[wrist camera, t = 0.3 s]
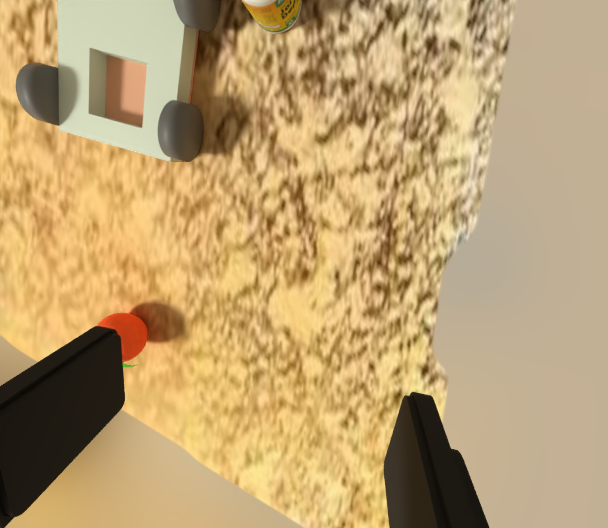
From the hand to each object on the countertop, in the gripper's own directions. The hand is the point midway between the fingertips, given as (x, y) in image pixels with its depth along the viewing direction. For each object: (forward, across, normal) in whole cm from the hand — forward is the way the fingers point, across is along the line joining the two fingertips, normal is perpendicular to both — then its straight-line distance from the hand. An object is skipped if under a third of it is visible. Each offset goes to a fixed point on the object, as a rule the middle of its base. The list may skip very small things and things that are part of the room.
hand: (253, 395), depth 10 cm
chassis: (+30, +24, -16) cm, 42 cm away
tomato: (+30, +26, +20) cm, 45 cm away
